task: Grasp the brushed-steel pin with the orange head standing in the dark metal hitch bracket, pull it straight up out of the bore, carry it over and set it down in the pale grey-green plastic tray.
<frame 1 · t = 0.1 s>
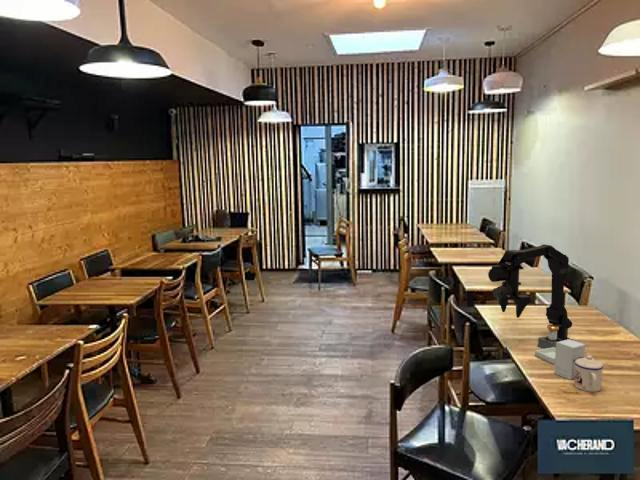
hand: (510, 314, 223), 15 cm above the table, fingers open, 9 cm apart
teacup with lid: (588, 389, 183), on the table
pin: (552, 337, 222), in the hitch bracket
hitch bracket: (551, 348, 223), on the table
supplement box: (568, 375, 195), on the table
tray: (553, 358, 211), on the table
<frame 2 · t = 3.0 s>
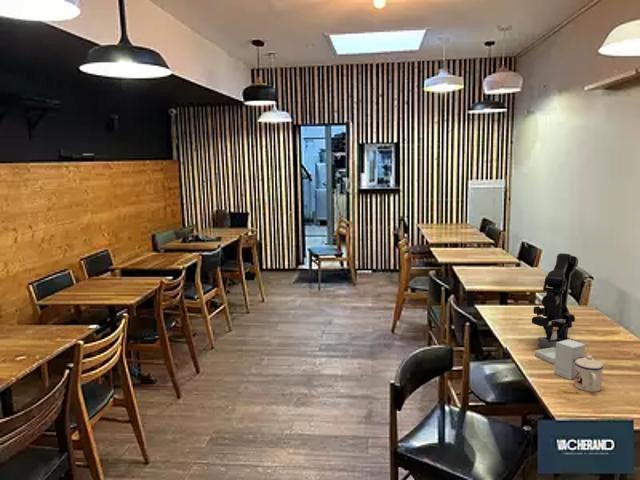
hand: (552, 338, 222), 5 cm above the table, fingers closed on pin, 4 cm apart
pin: (552, 337, 222), in the hitch bracket, touching gripper
everything else where it was.
when the fingers open (6 cm above the table, at t = 6.9 s): pin stays where it is, resting on tray.
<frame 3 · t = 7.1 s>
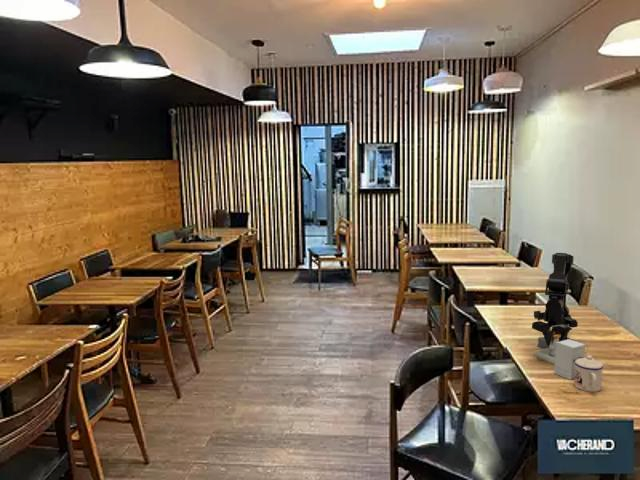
hand: (553, 344, 210), 6 cm above the table, fingers open, 6 cm apart
pin: (554, 345, 210), in the tray, point 6 cm above the table
everything else where it was.
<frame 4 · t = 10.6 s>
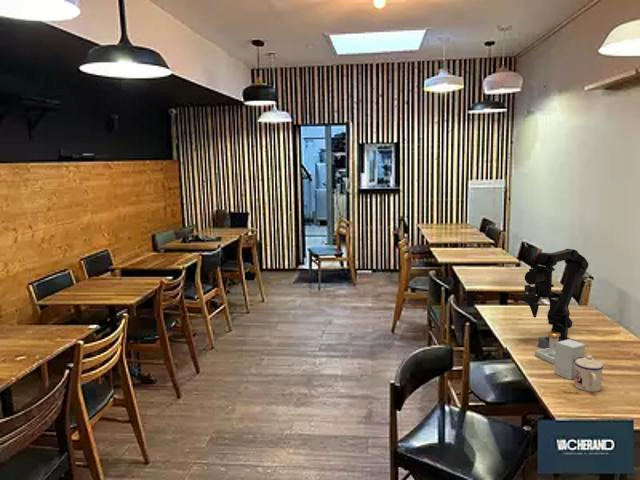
hand: (542, 316, 226), 13 cm above the table, fingers open, 9 cm apart
nothing on the table moved.
at the end: pin inside the target area on the tray (0.0 cm from its centre), point 5.8 cm above the tray's base; pin touching tray; the gripper is holding nothing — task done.
